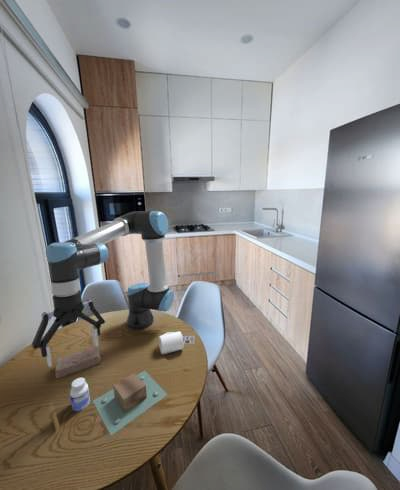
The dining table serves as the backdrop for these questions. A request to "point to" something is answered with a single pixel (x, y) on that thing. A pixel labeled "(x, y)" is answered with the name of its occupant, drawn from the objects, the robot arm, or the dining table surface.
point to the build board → (116, 416)
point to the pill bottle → (79, 394)
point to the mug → (171, 342)
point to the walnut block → (130, 392)
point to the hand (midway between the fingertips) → (74, 353)
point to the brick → (77, 361)
